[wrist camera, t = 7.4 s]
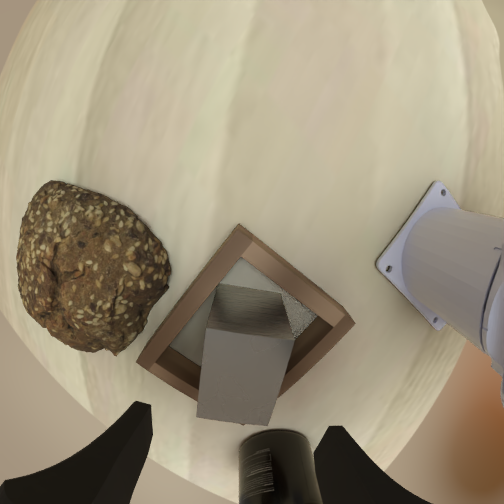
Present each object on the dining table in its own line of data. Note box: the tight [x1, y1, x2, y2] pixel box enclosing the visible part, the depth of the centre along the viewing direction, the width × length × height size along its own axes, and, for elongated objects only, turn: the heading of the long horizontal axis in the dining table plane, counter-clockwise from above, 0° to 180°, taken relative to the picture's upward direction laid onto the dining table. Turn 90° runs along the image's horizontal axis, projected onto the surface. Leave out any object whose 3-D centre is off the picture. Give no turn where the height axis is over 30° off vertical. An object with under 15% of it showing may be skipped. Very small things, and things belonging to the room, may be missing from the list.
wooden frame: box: [136, 224, 355, 425], centre depth 17 cm, size 9×11×2 cm
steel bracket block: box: [196, 283, 295, 426], centre depth 16 cm, size 6×4×6 cm, turn 170°
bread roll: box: [16, 180, 171, 356], centre depth 15 cm, size 13×12×5 cm
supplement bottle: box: [239, 431, 323, 504], centre depth 16 cm, size 7×7×12 cm
